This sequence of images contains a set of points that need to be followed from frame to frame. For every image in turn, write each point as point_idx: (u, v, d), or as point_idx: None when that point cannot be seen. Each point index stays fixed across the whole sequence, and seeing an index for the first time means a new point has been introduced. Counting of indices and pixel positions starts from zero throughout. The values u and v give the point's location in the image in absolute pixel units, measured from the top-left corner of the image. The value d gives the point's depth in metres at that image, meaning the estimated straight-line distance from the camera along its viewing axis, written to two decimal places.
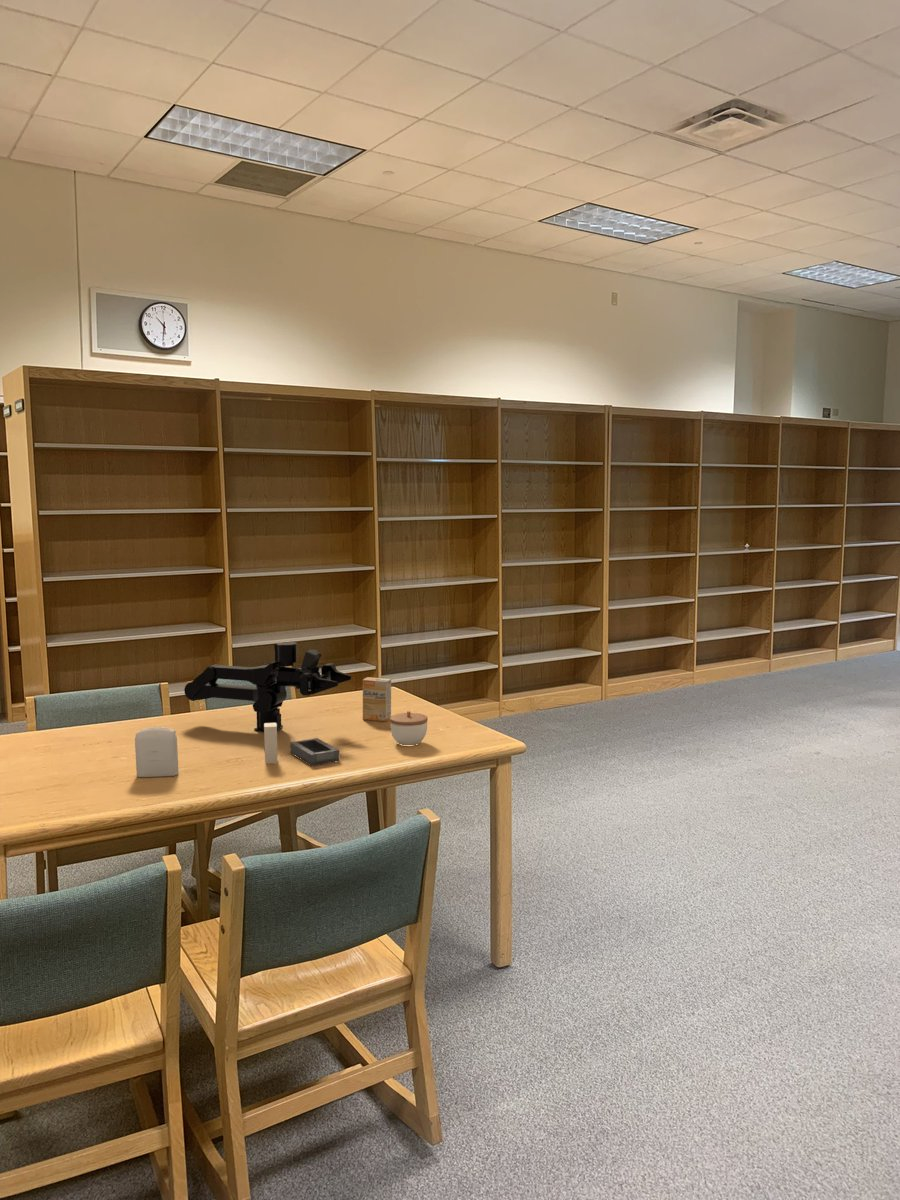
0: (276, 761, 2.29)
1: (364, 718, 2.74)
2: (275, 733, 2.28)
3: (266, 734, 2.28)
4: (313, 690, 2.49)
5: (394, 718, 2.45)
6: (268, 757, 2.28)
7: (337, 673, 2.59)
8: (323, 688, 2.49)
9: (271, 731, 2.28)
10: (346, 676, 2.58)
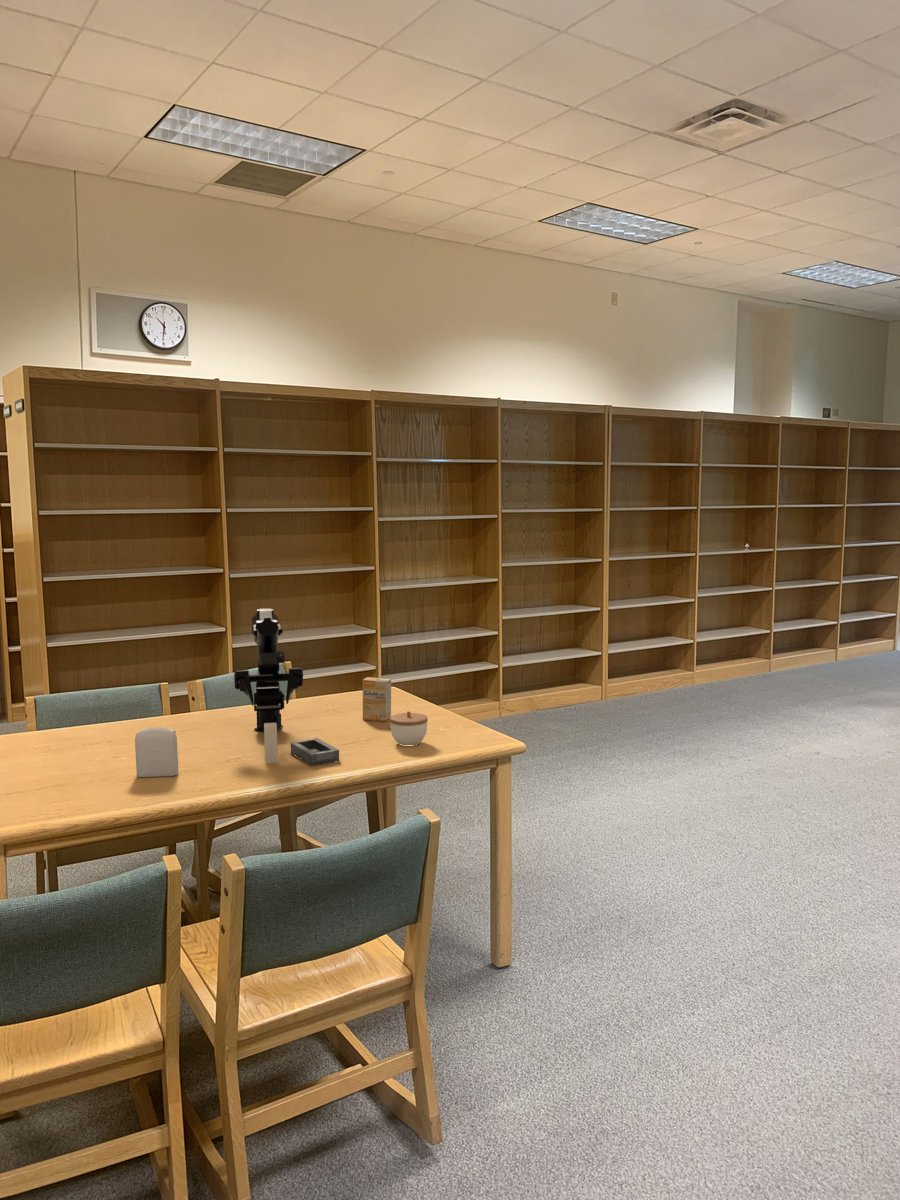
0: (276, 761, 2.29)
1: (364, 718, 2.74)
2: (275, 733, 2.28)
3: (266, 734, 2.28)
4: (242, 689, 2.40)
5: (394, 718, 2.45)
6: (268, 757, 2.28)
7: (287, 687, 2.40)
8: (247, 695, 2.39)
9: (271, 731, 2.28)
10: (286, 698, 2.38)
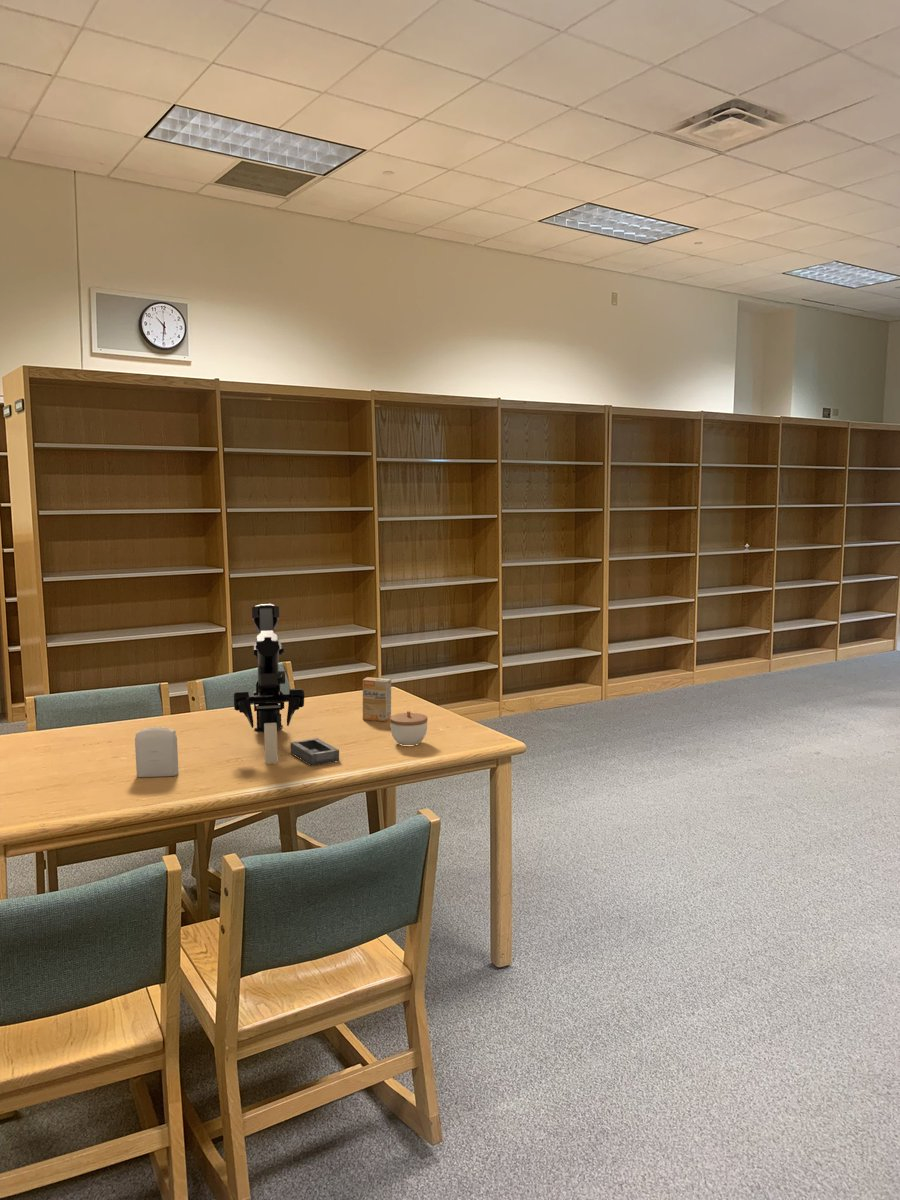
0: (276, 761, 2.29)
1: (364, 718, 2.74)
2: (275, 733, 2.28)
3: (266, 734, 2.28)
4: (241, 710, 2.35)
5: (394, 718, 2.45)
6: (268, 757, 2.28)
7: None
8: (247, 717, 2.33)
9: (271, 731, 2.28)
10: None
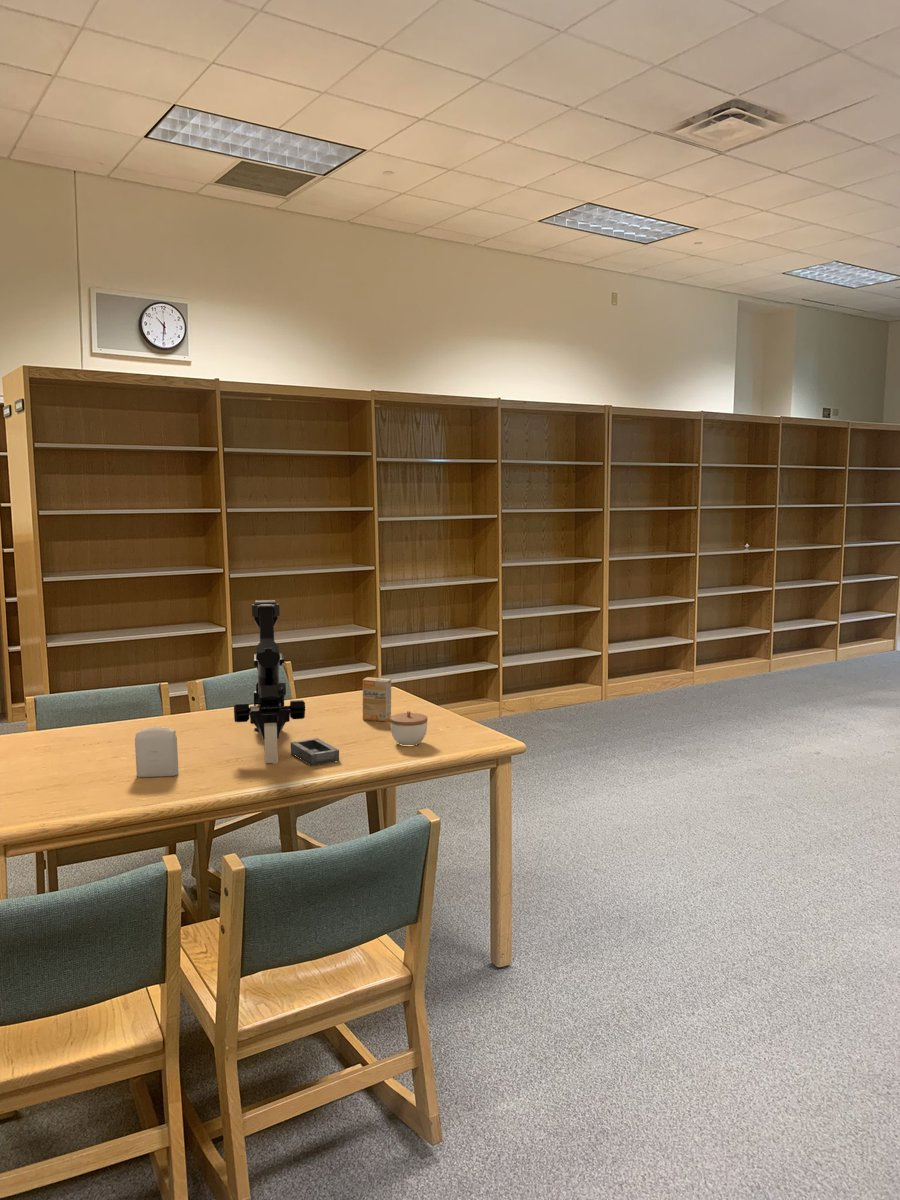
0: (276, 761, 2.29)
1: (364, 718, 2.74)
2: (275, 733, 2.28)
3: (266, 734, 2.28)
4: (252, 721, 2.33)
5: (394, 718, 2.45)
6: (268, 757, 2.28)
7: (277, 721, 2.31)
8: (258, 728, 2.31)
9: (271, 731, 2.28)
10: None
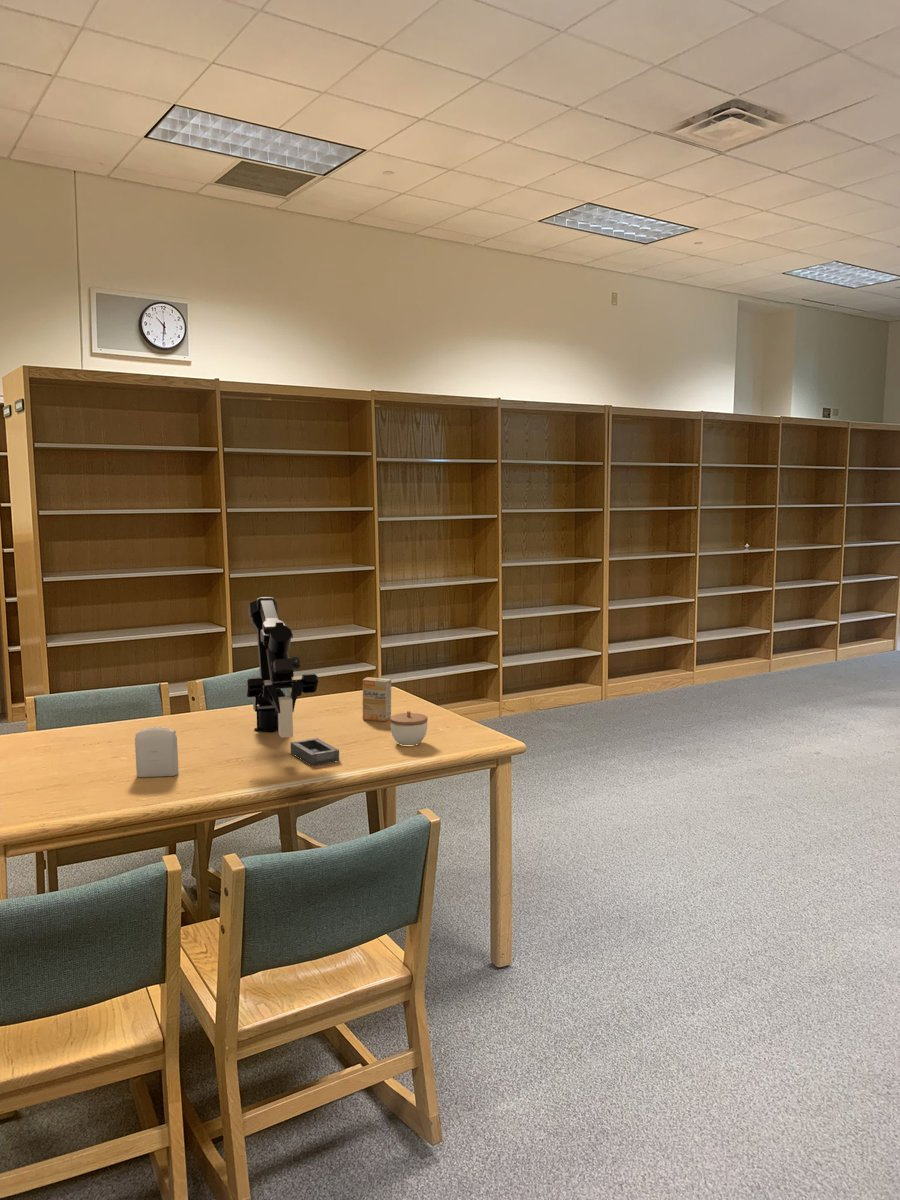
0: (291, 734, 2.29)
1: (364, 718, 2.74)
2: (291, 706, 2.28)
3: (282, 707, 2.28)
4: (265, 696, 2.32)
5: (394, 718, 2.45)
6: (284, 730, 2.29)
7: (291, 695, 2.31)
8: (272, 702, 2.31)
9: (287, 704, 2.28)
10: None
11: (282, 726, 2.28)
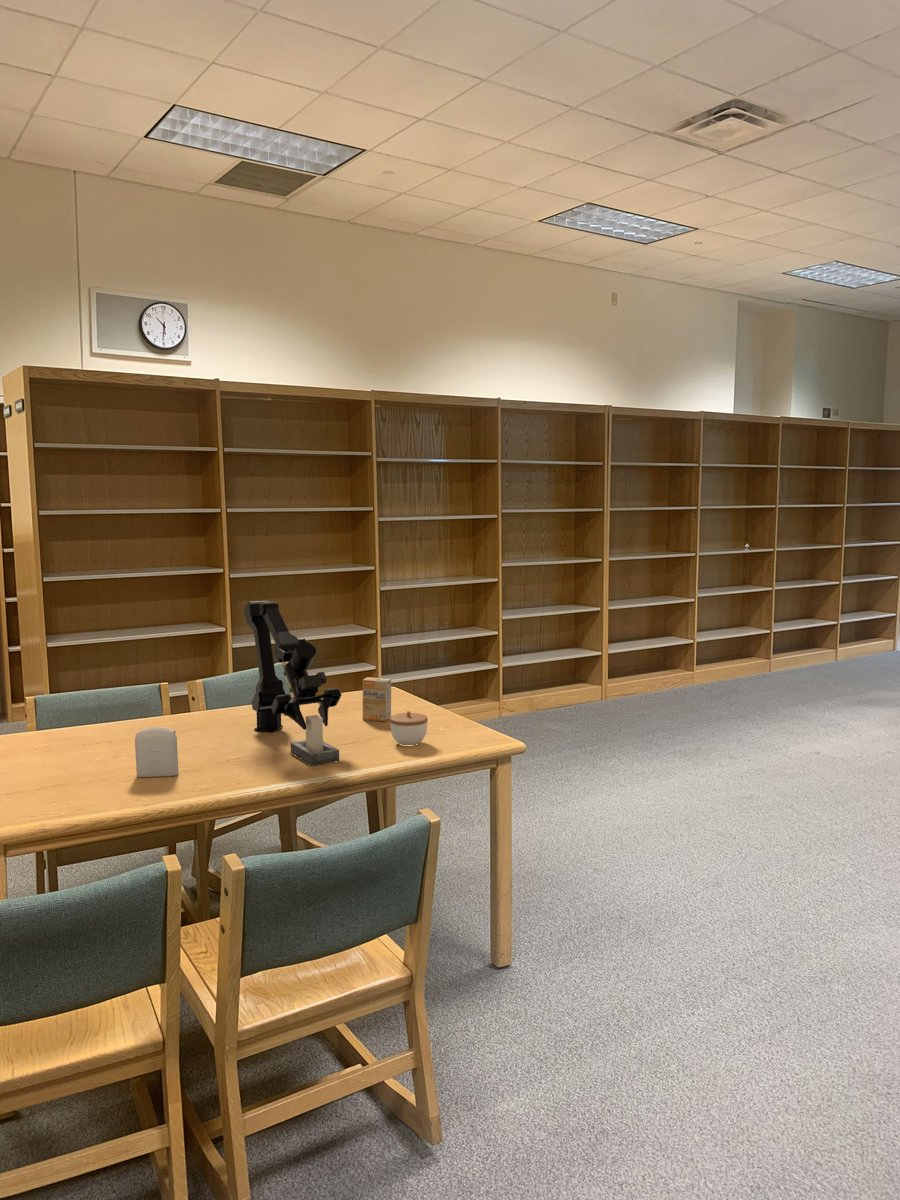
0: None
1: (364, 718, 2.74)
2: (321, 725, 2.33)
3: (313, 726, 2.31)
4: (287, 713, 2.34)
5: (394, 718, 2.45)
6: (315, 749, 2.32)
7: (323, 709, 2.36)
8: (295, 719, 2.33)
9: (317, 723, 2.32)
10: (324, 720, 2.35)
11: (313, 745, 2.32)
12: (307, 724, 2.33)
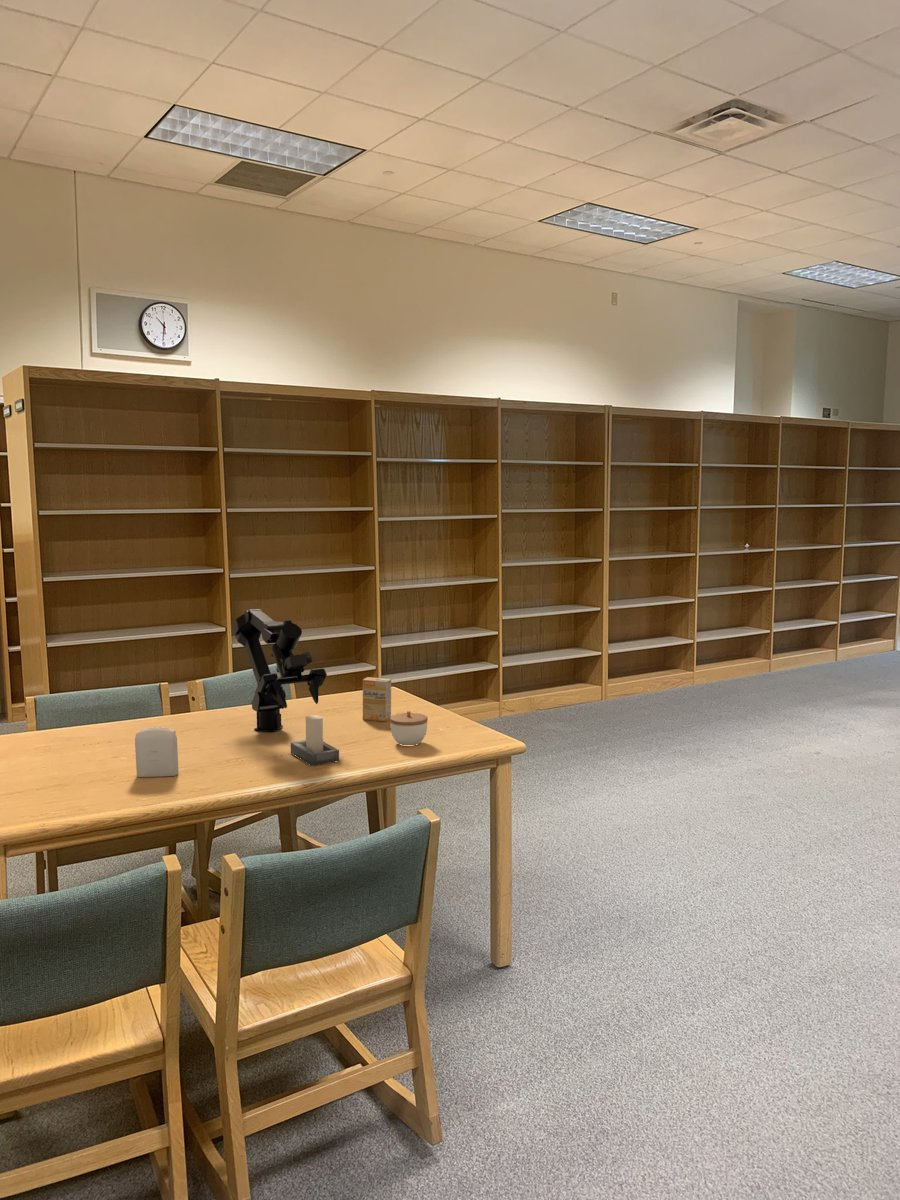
0: None
1: (364, 718, 2.74)
2: (321, 725, 2.33)
3: (313, 726, 2.31)
4: (268, 692, 2.40)
5: (394, 718, 2.45)
6: (315, 749, 2.32)
7: (313, 688, 2.44)
8: (276, 698, 2.40)
9: (317, 723, 2.32)
10: (315, 698, 2.43)
11: (313, 745, 2.32)
12: (307, 724, 2.33)
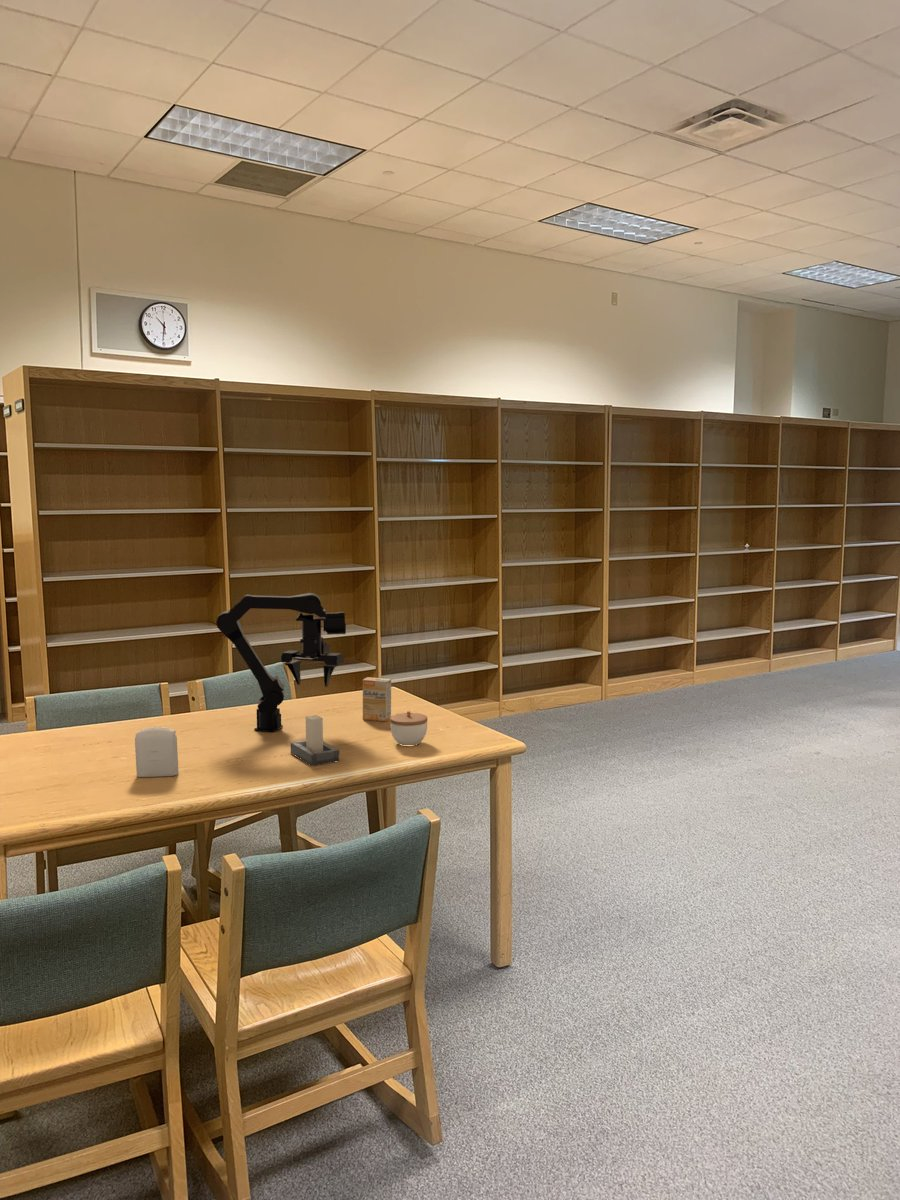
0: None
1: (364, 718, 2.74)
2: (321, 725, 2.33)
3: (313, 726, 2.31)
4: None
5: (394, 718, 2.45)
6: (315, 749, 2.32)
7: (299, 669, 2.66)
8: (328, 674, 2.60)
9: (317, 723, 2.32)
10: (299, 680, 2.65)
11: (313, 745, 2.32)
12: (307, 724, 2.33)
